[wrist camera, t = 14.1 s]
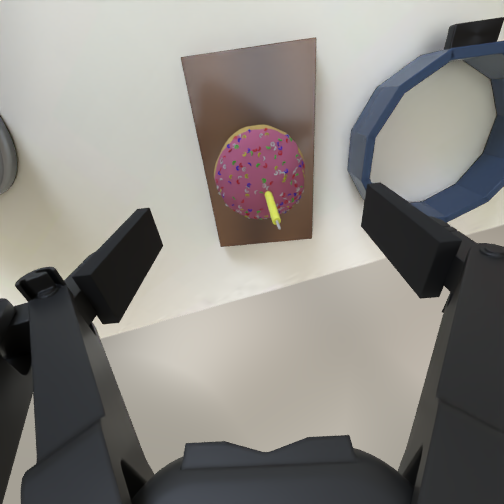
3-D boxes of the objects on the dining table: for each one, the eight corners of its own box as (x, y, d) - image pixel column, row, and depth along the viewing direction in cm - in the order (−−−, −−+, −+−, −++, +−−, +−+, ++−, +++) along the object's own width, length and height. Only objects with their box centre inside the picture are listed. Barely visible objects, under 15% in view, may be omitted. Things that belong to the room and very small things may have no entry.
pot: (342, 225, 32) (353, 242, 29) (359, 43, 23) (380, 33, 19) (466, 213, 31) (495, 230, 28) (542, 17, 21) (603, 1, 18)
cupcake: (313, 170, 27) (348, 215, 17) (254, 215, 30) (254, 276, 20) (265, 100, 24) (273, 105, 14) (203, 159, 27) (172, 200, 17)
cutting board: (222, 241, 34) (220, 247, 33) (184, 59, 23) (180, 57, 22) (309, 233, 33) (312, 238, 32) (313, 40, 22) (316, 37, 21)
